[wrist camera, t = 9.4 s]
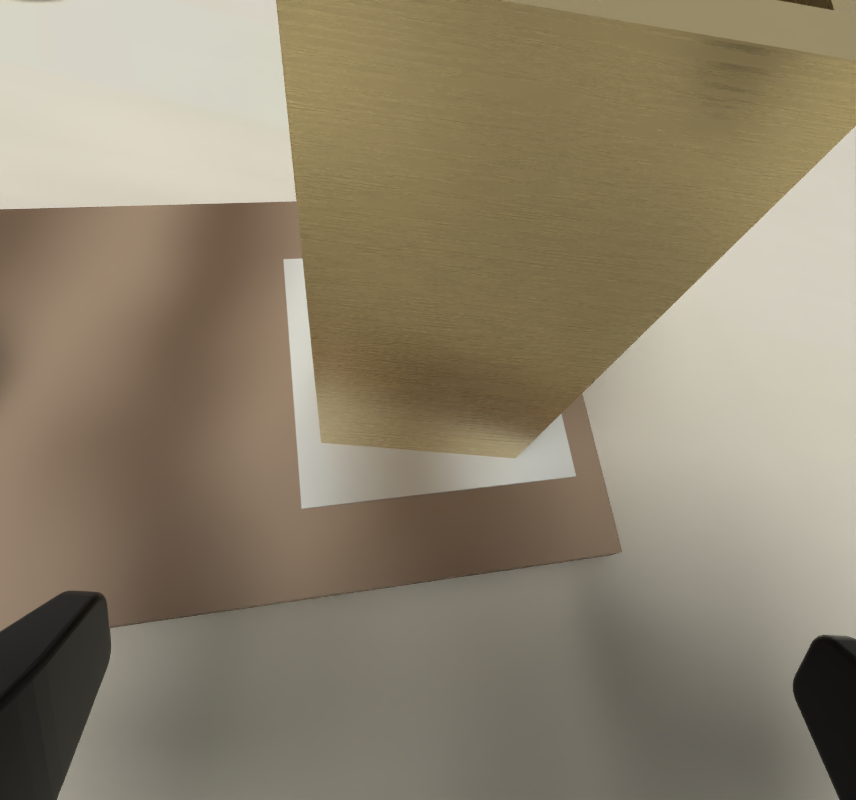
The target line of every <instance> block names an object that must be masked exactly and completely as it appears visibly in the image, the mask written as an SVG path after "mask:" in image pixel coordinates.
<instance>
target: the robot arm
mask: <svg viewBox="0 0 856 800" xmlns="http://www.w3.org/2000/svg"><path fill="white" fill-rule="evenodd" d="M110 653H111V638H110V628H109V618H108V607H107V601H106V598H105V596H104V595H103V594H102V593H100V592H91V591H74V590H71V591H65V592H63V593H61V594H59V595H57V596H55V597H54V598H52V599H51V600H49V601H47V602H46V603H44V604H43V605H41V606H39V607H38V608H36V609H35V610H33V611H32V612H30V613H28V614H27V615H25V616H24V617H22V618H20V619H19V620H17V621H16V622H14V623H12V624H11V625H9V626H8V627H6V628H5V629H3V630H1V631H0V800H57V797H58V795H59V792H60V790H61V787H62V785H63V782H64V780H65V777H66V774H67V772H68V769H69V767H70V764H71V761H72V759H73V756H74V753H75V751H76V748H77V745H78V743H79V740H80V738H81V735H82V732H83V730H84V727H85V724H86V722H87V719H88V716H89V714H90V711H91V709H92V706H93V703H94V701H95V698H96V695H97V693H98V690H99V687H100V685H101V682H102V680H103V677H104V674H105V672H106V669H107V666H108V663H109V659H110ZM793 693H794V697H795V700H796V702H797V705H798V707H799V709H800V711H801V714H802V716H803V718H804V720H805V723H806V725H807V727H808V729H809V732H810V734H811V736H812V738H813V741H814V743H815V745H816V747H817V750H818V752H819V754H820V756H821V759H822V761H823V763H824V765H825V768H826V770H827V772H828V774H829V777H830V779H831V781H832V783H833V786H834V788H835V790H836V793H837V795H838V797H839V799H840V800H856V639H854V638H851V637H847V636H834V635H821V636H818V637H817V638H815V639H814V640H813V642H812V643H811V645H810V647H809V649H808V651H807V653H806V655H805V657H804V659H803V661H802V663H801V665H800V667H799V669H798V671H797V673H796V675H795V677H794V680H793Z"/></svg>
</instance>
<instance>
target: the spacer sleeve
mask: <svg viewBox="0 0 856 800" xmlns="http://www.w3.org/2000/svg"><path fill="white" fill-rule="evenodd" d="M276 4H277V13H278V23H279V33H280V43H281V53H282V63H283V72H284V82H285V92H286V102H287V112H288V122H289V132H290V141H291V151H292V161H293V171H294V181H295V191H296V200H297V210H298V220H299V230H300V240H301V250H302V260H303V269H304V279H305V289H306V299H307V309H308V319H309V328H310V338H311V348H312V358H313V368H314V378H315V388H316V397H317V407H318V417H319V427H320V437H321V443H328V444H341V445H353V446H366V447H378V448H391V449H403V450H416V451H428V452H441V453H453V454H466V455H478V456H491V457H503V458H516V457H517V456H518V455H519V454H520V453H521V452H522V451H523V450H525V449H526V448H527V447H528V446H529V445H530V444H531V443H532V442H533V441H534V440H535V439H536V438H537V437H538V436H539V435H540V434H541V433H542V432H543V431H544V430H545V429H546V428H547V427H548V426H549V425H550V424H551V423H552V422H553V421H554V420H555V419H556V418H557V417H558V416H559V415H560V414H561V413H562V412H563V411H564V410H565V409H566V408H567V407H568V406H570V405H571V404H572V403H573V402H574V401H575V400H576V399H577V398H578V397H579V396H580V395H581V394H582V393H583V392H584V391H585V390H586V389H587V388H588V387H589V386H590V385H591V384H592V383H593V382H594V381H595V380H596V379H597V378H598V377H599V376H600V375H601V374H602V373H603V372H604V371H605V370H606V369H607V368H608V367H609V366H610V365H611V364H612V363H613V362H614V361H616V360H617V359H618V358H619V357H620V356H621V355H622V354H623V353H624V352H625V351H626V350H627V349H628V348H629V347H630V346H631V345H632V344H633V343H634V342H635V341H636V340H637V339H638V338H639V337H640V336H641V335H642V334H643V333H644V332H645V331H646V330H647V329H648V328H649V327H650V326H651V325H652V324H653V323H654V322H655V321H656V320H657V319H658V318H659V317H661V316H662V315H663V314H664V313H665V312H666V311H667V310H668V309H669V308H670V307H671V306H672V305H673V304H674V303H675V302H676V301H677V300H678V299H679V298H680V297H681V296H682V295H683V294H684V293H685V292H686V291H687V290H688V289H689V288H690V287H691V286H692V285H693V284H694V283H695V282H696V281H697V280H698V279H699V278H700V277H701V276H702V275H703V274H704V273H705V272H707V271H708V270H709V269H710V268H711V267H712V266H713V265H714V264H715V263H716V262H717V261H718V260H719V259H720V258H721V257H722V256H723V255H724V254H725V253H726V252H727V251H728V250H729V249H730V248H731V247H732V246H733V245H734V244H735V243H736V242H737V241H738V240H739V239H740V238H741V237H742V236H743V235H744V234H745V233H746V232H747V231H748V230H749V229H750V228H752V227H753V226H754V225H755V224H756V223H757V222H758V221H759V220H760V219H761V218H762V217H763V216H764V215H765V214H766V213H767V212H768V211H769V210H770V209H771V208H772V207H773V206H774V205H775V204H776V203H777V202H778V201H779V200H780V199H781V198H782V197H783V196H784V195H785V194H786V193H787V192H788V191H789V190H790V189H791V188H792V187H793V186H794V185H795V184H797V183H798V182H799V181H800V180H801V179H802V178H803V177H804V176H805V175H806V174H807V173H808V172H809V171H810V170H811V169H812V168H813V167H814V166H815V165H816V164H817V163H818V162H819V161H820V160H821V159H822V158H823V157H824V156H825V155H826V154H827V153H828V152H829V151H830V150H831V149H832V148H833V147H834V146H835V145H836V144H837V143H838V142H839V141H840V140H841V139H843V138H844V137H845V136H846V135H847V134H848V133H849V132H850V131H851V130H852V129H853V128H854V127H855V126H856V0H276Z"/></svg>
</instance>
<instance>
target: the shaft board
mask: <svg viewBox="0 0 856 800" xmlns="http://www.w3.org/2000/svg"><path fill="white" fill-rule="evenodd" d="M620 552H622V550H621V546H620V542H619V538H618V534H617V530H616V526H615V522H614V518H613V514H612V510H611V506H610V502H609V498H608V494H607V490H606V486H605V482H604V478H603V474H602V470H601V467H600V463H599V459H598V455H597V451H596V447H595V443H594V439H593V435H592V431H591V427H590V423H589V419H588V415H587V411H586V407H585V403H584V399H583V395H582V394H581V395H580V396H579V397H578V398H577V399H576V400H575V401H574V402H573V403H572V404H571V405H570V406H568V407H567V408H566V409H565V410H564V411H563V412H562V413H561V414H560V415H559V416H558V417H557V418H556V419H555V420H554V421H553V422H552V423H551V424H550V425H549V426H548V427H547V428H546V429H545V430H544V431H543V432H542V433H541V434H540V435H539V436H538V437H537V438H536V439H535V440H534V441H533V442H532V443H531V444H530V445H529V446H528V447H527V448H526V449H525V450H523V451H522V452H521V453H520V454H519V455H518V456H517V457H516V458H503V457H491V456H478V455H466V454H453V453H441V452H428V451H416V450H403V449H391V448H378V447H366V446H353V445H341V444H328V443H321V437H320V427H319V417H318V407H317V397H316V388H315V378H314V368H313V358H312V348H311V338H310V328H309V319H308V309H307V299H306V289H305V279H304V269H303V260H302V250H301V240H300V230H299V220H298V210H297V202H264V203H227V204H189V205H152V206H115V207H77V208H40V209H3V210H0V631H1V630H3V629H5V628H6V627H8V626H9V625H11V624H12V623H14V622H16V621H17V620H19V619H20V618H22V617H24V616H25V615H27V614H28V613H30V612H32V611H33V610H35V609H36V608H38V607H39V606H41V605H43V604H44V603H46V602H47V601H49V600H51V599H52V598H54V597H55V596H57V595H59V594H61V593H63V592H65V591H71V590H74V591H91V592H100V593H102V594H103V595H104V596H105V598H106V601H107V607H108V618H109V628H113V627H120V626H127V625H134V624H141V623H148V622H154V621H161V620H168V619H175V618H182V617H189V616H196V615H203V614H209V613H216V612H223V611H230V610H237V609H244V608H251V607H258V606H265V605H271V604H278V603H285V602H292V601H299V600H306V599H313V598H320V597H327V596H333V595H340V594H347V593H354V592H361V591H368V590H375V589H382V588H388V587H395V586H402V585H409V584H416V583H423V582H430V581H437V580H444V579H450V578H457V577H464V576H471V575H478V574H485V573H492V572H499V571H505V570H512V569H519V568H526V567H533V566H540V565H547V564H554V563H561V562H567V561H574V560H581V559H588V558H595V557H602V556H609V555H613V554H616V553H620Z"/></svg>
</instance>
